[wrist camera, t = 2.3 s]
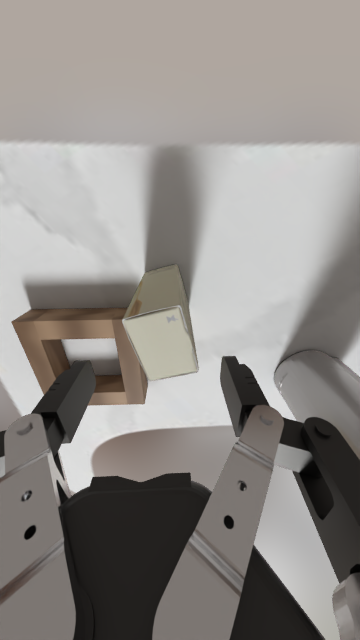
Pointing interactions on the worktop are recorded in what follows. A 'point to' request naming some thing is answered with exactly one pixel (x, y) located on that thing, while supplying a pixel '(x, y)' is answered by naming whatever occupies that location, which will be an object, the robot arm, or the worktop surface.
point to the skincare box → (161, 325)
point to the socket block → (89, 323)
